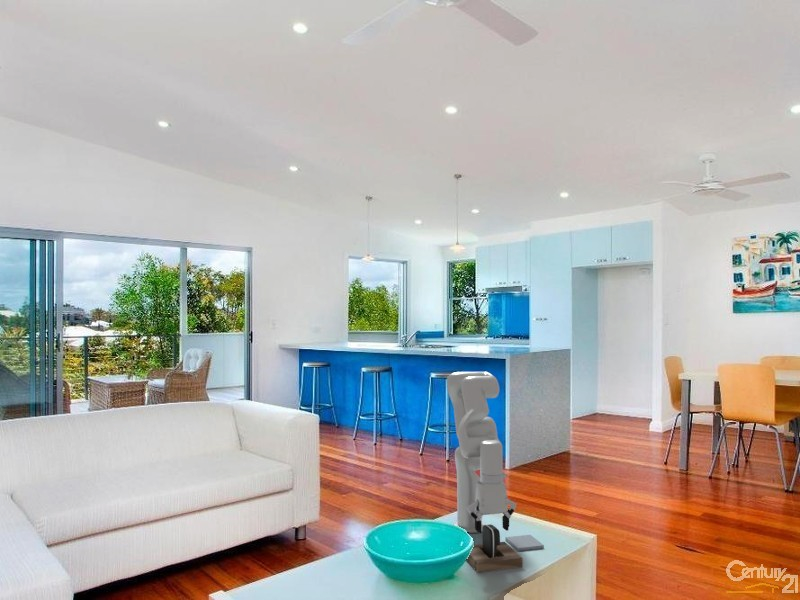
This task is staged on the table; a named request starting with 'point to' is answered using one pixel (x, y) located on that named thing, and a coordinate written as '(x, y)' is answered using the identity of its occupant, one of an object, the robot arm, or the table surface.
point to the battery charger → (490, 540)
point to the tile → (524, 542)
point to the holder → (494, 558)
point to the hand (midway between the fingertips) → (492, 530)
